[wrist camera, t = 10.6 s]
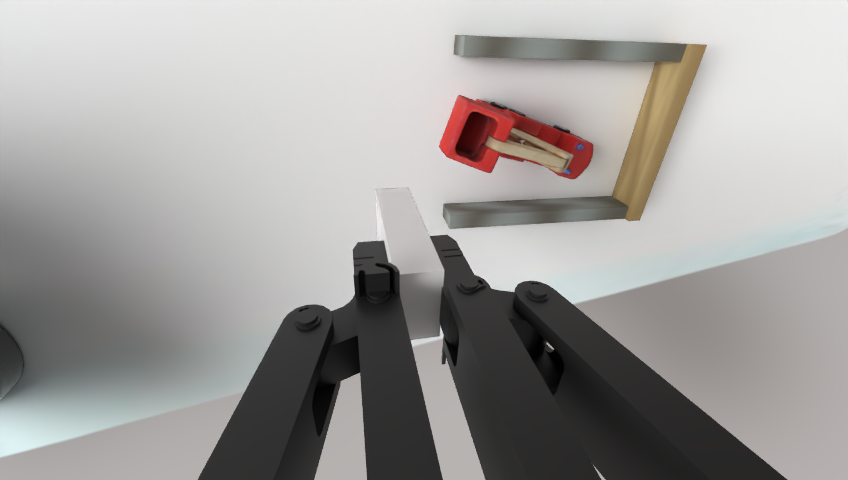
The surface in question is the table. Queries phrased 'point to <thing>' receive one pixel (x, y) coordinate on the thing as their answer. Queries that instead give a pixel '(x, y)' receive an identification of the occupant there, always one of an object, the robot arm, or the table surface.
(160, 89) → the table surface
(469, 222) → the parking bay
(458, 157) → the toy fire truck
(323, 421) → the robot arm
